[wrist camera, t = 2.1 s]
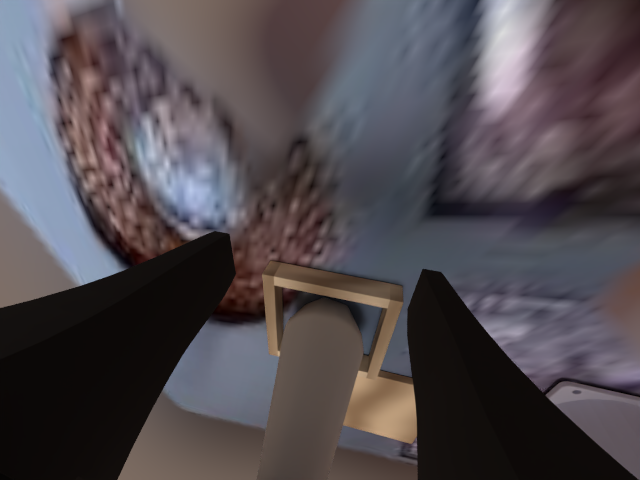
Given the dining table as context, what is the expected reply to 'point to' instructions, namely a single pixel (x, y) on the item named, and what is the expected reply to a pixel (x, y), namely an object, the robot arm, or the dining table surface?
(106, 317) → the robot arm
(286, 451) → the beige bowling pin
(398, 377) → the cork mat
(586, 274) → the dining table surface
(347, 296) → the birch collar
